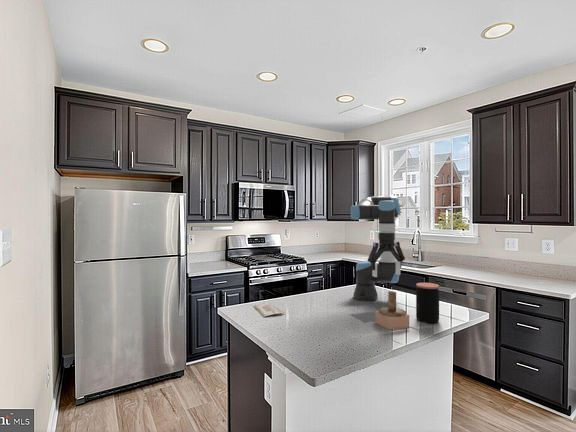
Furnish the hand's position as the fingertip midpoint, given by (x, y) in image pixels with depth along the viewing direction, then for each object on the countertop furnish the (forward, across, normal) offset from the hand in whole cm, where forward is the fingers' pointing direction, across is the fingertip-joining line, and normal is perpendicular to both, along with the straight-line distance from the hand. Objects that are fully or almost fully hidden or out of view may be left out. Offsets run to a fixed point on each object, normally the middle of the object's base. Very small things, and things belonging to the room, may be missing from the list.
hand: (386, 275), depth 164 cm
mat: (+23, +4, -10) cm, 25 cm away
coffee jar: (+24, -21, +5) cm, 32 cm away
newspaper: (+24, +48, -40) cm, 67 cm away
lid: (+17, 0, +4) cm, 18 cm away
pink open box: (+23, 0, +4) cm, 23 cm away
